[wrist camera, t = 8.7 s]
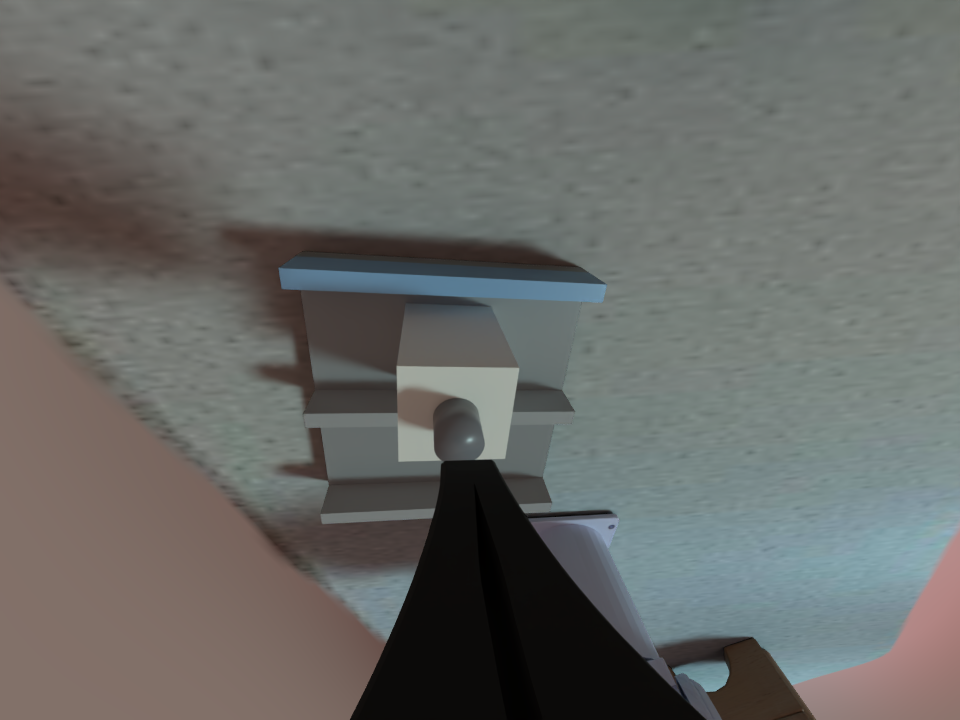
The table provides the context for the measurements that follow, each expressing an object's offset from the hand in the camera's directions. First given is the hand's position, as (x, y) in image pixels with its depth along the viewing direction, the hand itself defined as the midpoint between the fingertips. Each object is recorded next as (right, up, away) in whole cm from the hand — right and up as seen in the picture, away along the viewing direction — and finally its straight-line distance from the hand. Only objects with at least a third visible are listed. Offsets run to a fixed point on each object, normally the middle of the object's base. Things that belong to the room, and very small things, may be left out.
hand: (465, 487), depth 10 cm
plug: (-1, +4, +8) cm, 9 cm away
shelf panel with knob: (-2, +2, +11) cm, 11 cm away
